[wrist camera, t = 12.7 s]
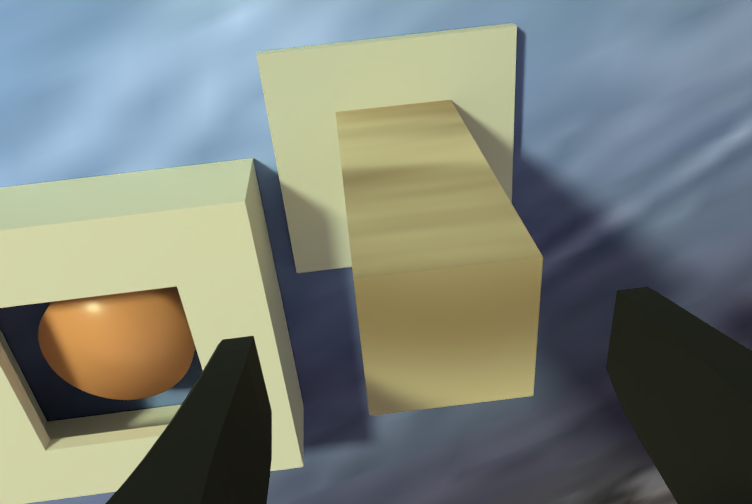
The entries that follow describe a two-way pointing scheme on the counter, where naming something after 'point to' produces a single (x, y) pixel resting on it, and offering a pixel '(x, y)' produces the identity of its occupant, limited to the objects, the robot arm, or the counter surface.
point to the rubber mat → (371, 90)
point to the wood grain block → (435, 262)
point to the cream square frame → (129, 274)
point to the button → (119, 342)
